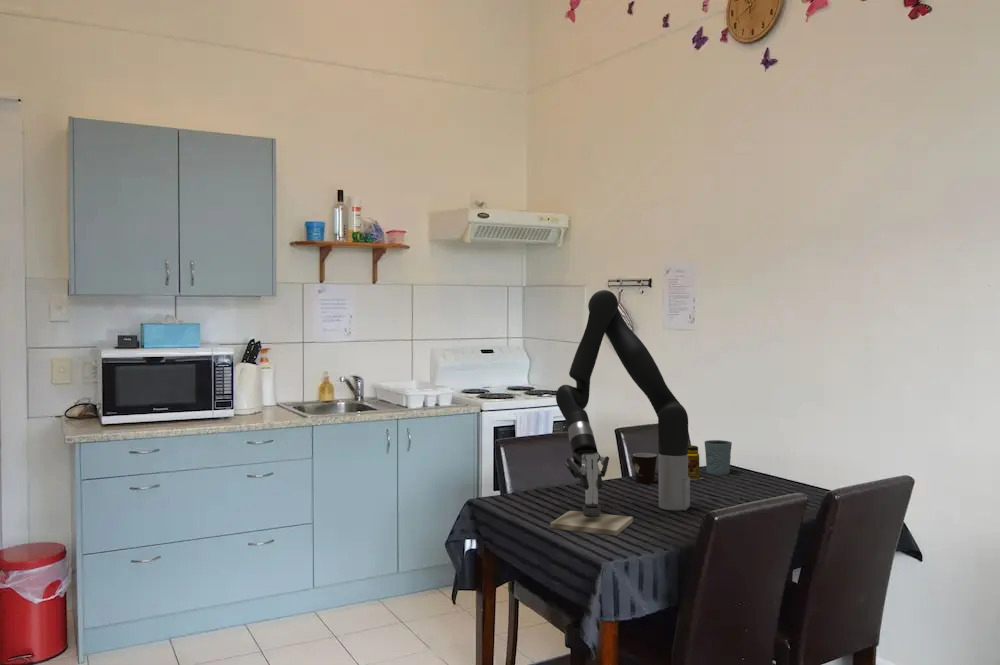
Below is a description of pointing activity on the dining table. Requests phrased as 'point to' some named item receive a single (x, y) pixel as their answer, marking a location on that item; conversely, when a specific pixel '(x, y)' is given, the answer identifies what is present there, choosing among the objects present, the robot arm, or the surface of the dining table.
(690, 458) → the condiment
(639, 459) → the coffee mug
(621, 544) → the dining table surface
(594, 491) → the grey pillar block
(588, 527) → the birch board
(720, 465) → the teal embossed plant pot
